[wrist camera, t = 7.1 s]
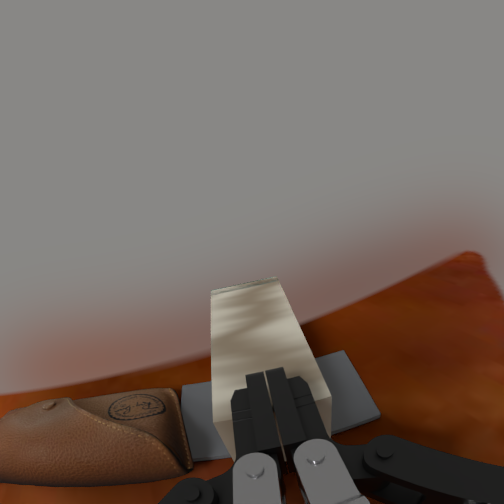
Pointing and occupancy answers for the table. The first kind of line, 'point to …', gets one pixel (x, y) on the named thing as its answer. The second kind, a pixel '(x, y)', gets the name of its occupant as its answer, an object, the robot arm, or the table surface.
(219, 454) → the rubber mat
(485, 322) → the table surface
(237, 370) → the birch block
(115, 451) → the sunglasses case
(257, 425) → the robot arm
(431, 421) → the table surface
